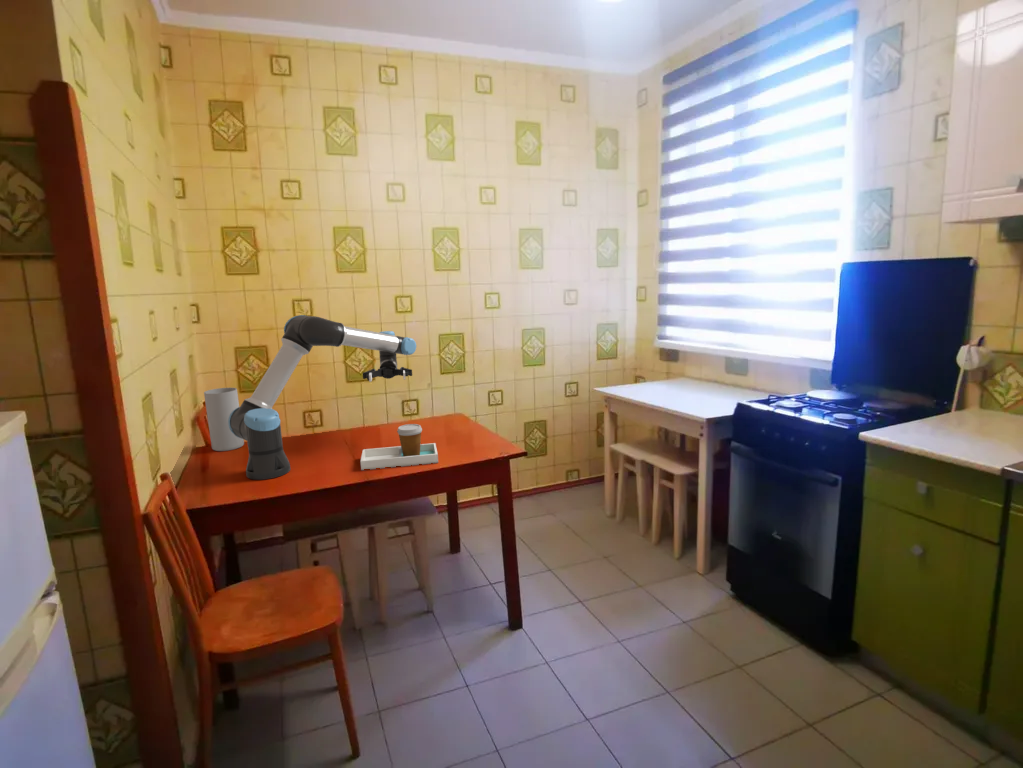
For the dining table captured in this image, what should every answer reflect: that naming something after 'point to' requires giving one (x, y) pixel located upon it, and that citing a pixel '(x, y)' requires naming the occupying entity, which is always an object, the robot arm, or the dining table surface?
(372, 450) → the divided tray
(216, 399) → the cylinder vase
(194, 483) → the dining table surface
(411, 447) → the disposable coffee cup
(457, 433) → the dining table surface
